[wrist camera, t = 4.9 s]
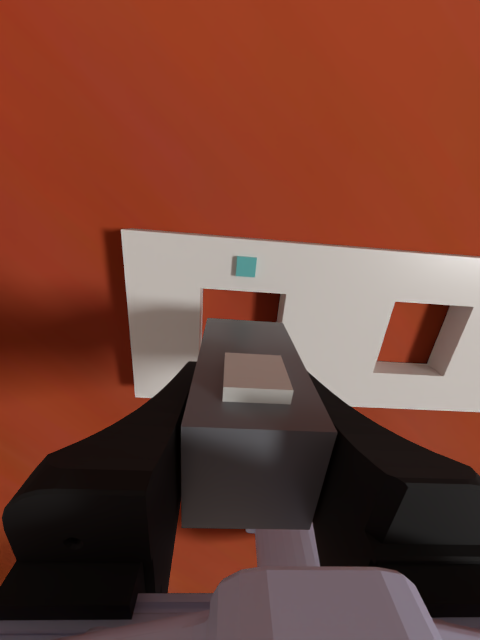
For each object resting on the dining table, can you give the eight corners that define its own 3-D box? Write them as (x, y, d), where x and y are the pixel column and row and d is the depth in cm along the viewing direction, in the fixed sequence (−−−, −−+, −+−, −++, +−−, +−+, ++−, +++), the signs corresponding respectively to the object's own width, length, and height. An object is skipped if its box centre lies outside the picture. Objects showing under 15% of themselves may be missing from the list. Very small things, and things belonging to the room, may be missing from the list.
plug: (273, 385, 15) (309, 529, 8) (205, 382, 15) (181, 528, 8) (284, 313, 13) (341, 416, 6) (207, 309, 13) (180, 410, 6)
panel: (465, 397, 22) (487, 414, 21) (143, 383, 21) (134, 399, 19) (532, 260, 18) (568, 265, 16) (132, 228, 17) (118, 229, 15)
